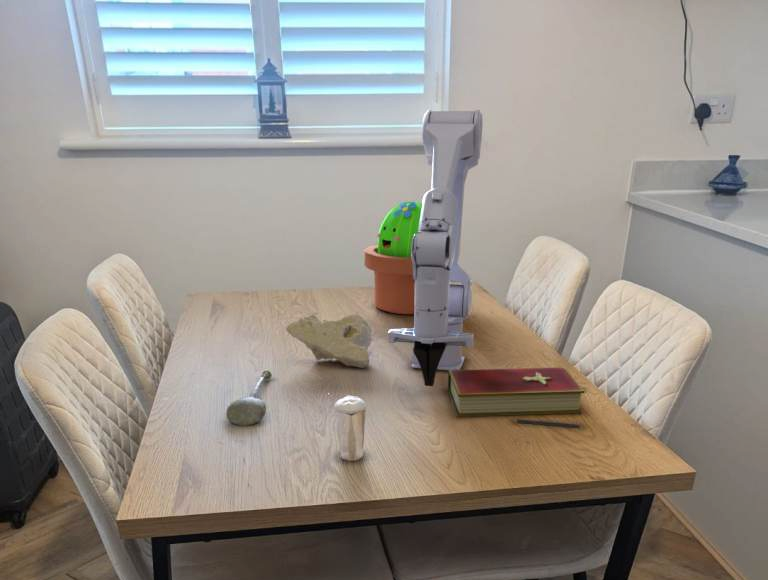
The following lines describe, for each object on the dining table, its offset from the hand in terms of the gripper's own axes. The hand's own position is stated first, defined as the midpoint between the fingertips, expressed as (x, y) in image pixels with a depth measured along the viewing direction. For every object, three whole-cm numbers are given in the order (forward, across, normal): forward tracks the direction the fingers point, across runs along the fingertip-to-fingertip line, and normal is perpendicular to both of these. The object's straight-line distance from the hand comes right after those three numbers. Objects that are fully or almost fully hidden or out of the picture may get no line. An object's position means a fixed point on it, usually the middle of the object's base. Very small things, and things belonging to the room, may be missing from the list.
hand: (429, 384), depth 127 cm
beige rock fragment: (+2, -22, +13) cm, 26 cm away
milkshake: (+2, -7, -27) cm, 28 cm away
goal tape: (+2, +21, 0) cm, 21 cm away
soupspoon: (+2, -29, -9) cm, 31 cm away
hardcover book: (+2, +15, 0) cm, 15 cm away
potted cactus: (+2, -16, +59) cm, 61 cm away
